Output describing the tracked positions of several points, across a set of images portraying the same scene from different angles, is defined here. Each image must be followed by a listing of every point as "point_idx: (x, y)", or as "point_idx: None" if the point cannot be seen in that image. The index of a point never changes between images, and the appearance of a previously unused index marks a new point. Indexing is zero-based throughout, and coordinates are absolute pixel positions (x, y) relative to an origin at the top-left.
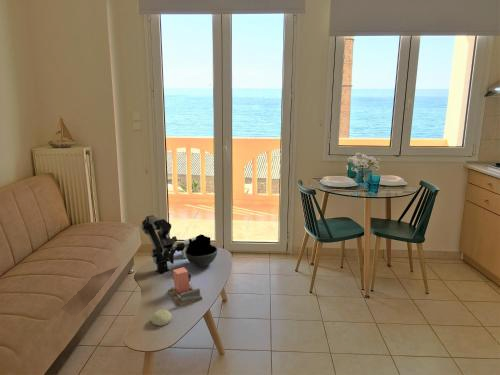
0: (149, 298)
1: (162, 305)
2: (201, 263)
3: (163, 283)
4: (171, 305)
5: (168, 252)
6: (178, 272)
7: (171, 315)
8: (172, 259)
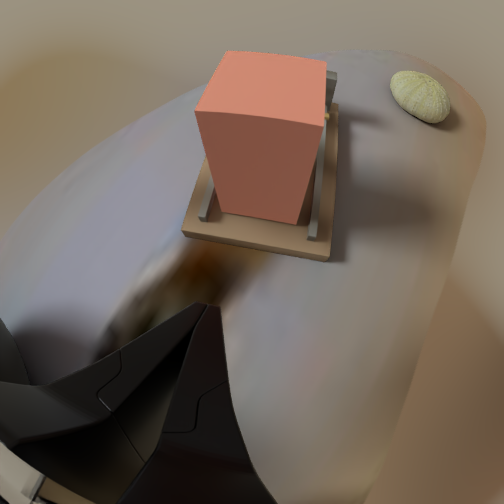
0: (430, 270)
1: (398, 168)
2: (5, 327)
3: (288, 393)
4: (365, 141)
5: (169, 478)
6: (303, 69)
7: (392, 78)
8: (178, 332)
